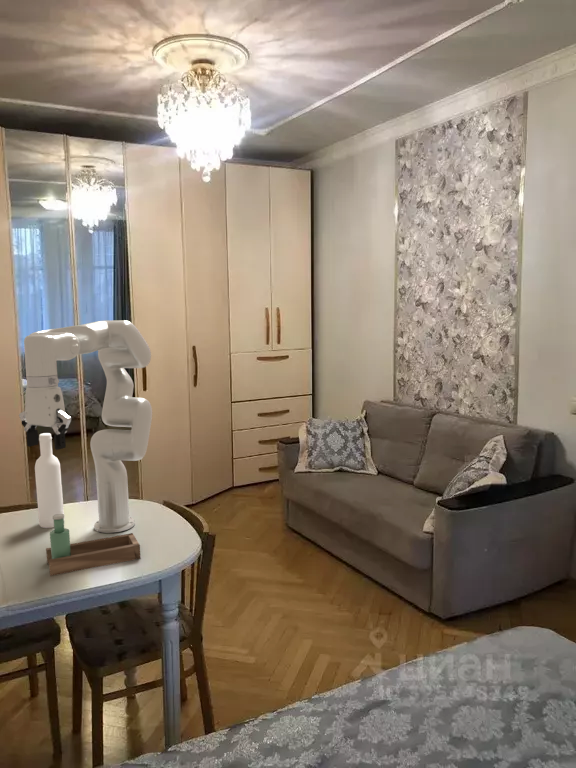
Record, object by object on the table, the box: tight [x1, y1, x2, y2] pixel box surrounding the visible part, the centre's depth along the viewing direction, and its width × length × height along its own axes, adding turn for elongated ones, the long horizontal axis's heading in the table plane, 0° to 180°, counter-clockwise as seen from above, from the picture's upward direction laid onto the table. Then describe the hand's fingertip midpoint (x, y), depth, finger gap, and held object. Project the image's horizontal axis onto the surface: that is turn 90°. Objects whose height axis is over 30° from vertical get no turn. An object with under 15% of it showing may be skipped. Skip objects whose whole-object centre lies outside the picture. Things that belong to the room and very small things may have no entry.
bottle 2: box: [49, 513, 71, 559], centre depth 174 cm, size 5×5×15 cm
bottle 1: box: [34, 432, 65, 529], centre depth 205 cm, size 8×8×30 cm
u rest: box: [45, 532, 141, 577], centre depth 178 cm, size 10×24×4 cm, turn 115°
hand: (46, 447), depth 166 cm, fingers open, 9 cm apart
